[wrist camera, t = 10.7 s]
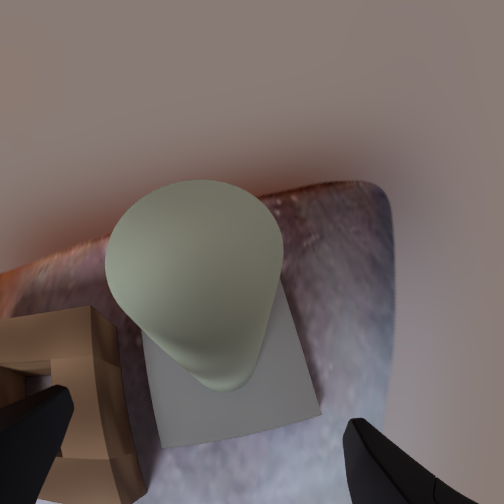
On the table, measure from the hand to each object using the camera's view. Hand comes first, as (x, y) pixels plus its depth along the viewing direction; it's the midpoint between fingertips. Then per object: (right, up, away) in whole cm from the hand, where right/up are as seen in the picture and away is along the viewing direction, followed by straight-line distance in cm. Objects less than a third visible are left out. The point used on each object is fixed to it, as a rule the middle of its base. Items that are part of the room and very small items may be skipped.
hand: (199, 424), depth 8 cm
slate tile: (0, -2, +9) cm, 9 cm away
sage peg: (0, -1, +8) cm, 8 cm away
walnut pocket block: (-11, -5, +6) cm, 14 cm away
